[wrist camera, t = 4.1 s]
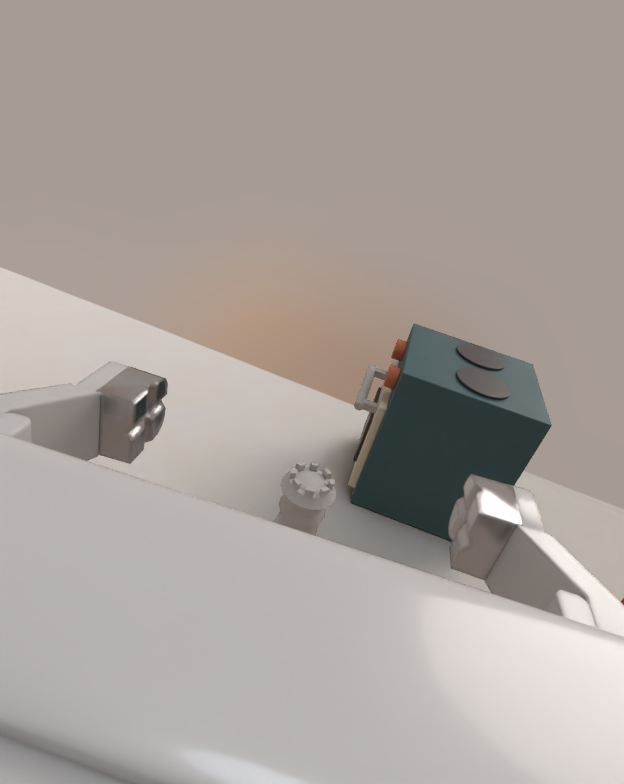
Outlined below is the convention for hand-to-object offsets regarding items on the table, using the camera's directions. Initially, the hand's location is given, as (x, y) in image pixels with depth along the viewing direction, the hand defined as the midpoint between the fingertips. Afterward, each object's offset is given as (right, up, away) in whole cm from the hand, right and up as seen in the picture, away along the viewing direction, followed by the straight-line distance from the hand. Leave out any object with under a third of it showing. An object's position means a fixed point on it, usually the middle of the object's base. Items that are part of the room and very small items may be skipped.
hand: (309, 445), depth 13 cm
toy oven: (+8, -6, +30) cm, 31 cm away
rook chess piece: (-2, -10, +19) cm, 22 cm away
